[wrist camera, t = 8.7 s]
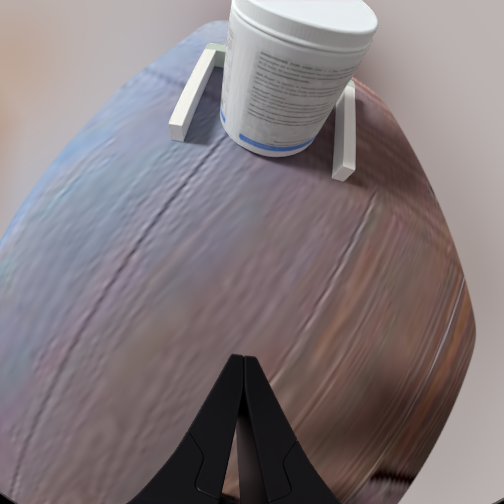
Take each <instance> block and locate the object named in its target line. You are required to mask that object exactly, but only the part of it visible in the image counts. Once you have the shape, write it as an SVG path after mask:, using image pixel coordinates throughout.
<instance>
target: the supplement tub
mask: <svg viewBox="0 0 504 504" xmlns="http://www.w3.org/2000/svg"><path fill="white" fill-rule="evenodd" d="M377 28H378V20H377V18H376V15H375V14H374V12H373V11H372V10H371V9H370V8H369V7H368V6H367V5H366V4H365V3H364V2H363V1H362V0H232V5H231V12H230V18H229V26H228V35H227V44H226V54H225V63H224V73H223V85H222V95H221V109H220V117H221V122H222V125H223V127H224V129H225V131H226V132H227V133H228V135H229V136H230V137H231V138H232V139H233V140H234V141H235V142H236V143H237V144H239V145H240V146H242V147H244V148H246V149H248V150H250V151H252V152H254V153H257V154H260V155H264V156H270V157H284V156H290V155H293V154H296V153H298V152H301V151H302V150H304V149H305V148H307V147H308V146H309V145H310V144H311V143H312V142H313V140H314V139H315V137H316V136H317V134H318V132H319V131H320V129H321V127H322V126H323V124H324V122H325V121H326V119H327V117H328V116H329V114H330V112H331V111H332V109H333V108H334V106H335V104H336V102H337V101H338V99H339V97H340V96H341V94H342V92H343V91H344V89H345V88H346V86H347V84H348V83H349V81H350V79H351V78H352V76H353V74H354V73H355V71H356V69H357V68H358V66H359V64H360V63H361V61H362V59H363V57H364V56H365V54H366V52H367V51H368V49H369V47H370V44H371V42H372V38H373V36H374V34H375V32H376V30H377Z"/></svg>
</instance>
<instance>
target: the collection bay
mask: <svg viewBox="0 0 504 504" xmlns="http://www.w3.org/2000/svg"><path fill="white" fill-rule="evenodd" d="M225 54H226V46H225V45H219V44H212V43H208V44H207V46H206V48H205V50H204V52H203V53H202V55H201V57H200V59H199V61H198V63H197V65H196V67H195V68H194V70H193V72H192V74H191V76H190V78H189V80H188V82H187V84H186V86H185V88H184V91H183V93H182V95H181V97H180V99H179V101H178V103H177V105H176V108H175V110H174V112H173V114H172V117H171V119H170V121H169V131H170V137H171V140H176V141H181V142H184V139H185V136H186V134H187V131H188V128H189V126H190V123H191V121H192V118H193V116H194V113H195V111H196V108H197V106H198V103H199V101H200V98H201V96H202V94H203V91H204V89H205V87H206V84H207V82H208V80H209V78H210V75H211V73H212V71H213V69H214V67H221V68H224V63H225ZM355 155H356V121H355V90H354V81H351V80H350V81H349V83H348V84H347V86H346V88H345V89H344V91H343V92H342V94H341V96H340V97H339V99H338V101H337V102H336V115H335V138H334V155H333V170H332V178H333V179H336V180H339V181H342V182H344V181H345V180H346V179H347V178H348V177H349V176H350V175H351V174H352V173H353V172H354V171H355Z"/></svg>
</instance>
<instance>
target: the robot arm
mask: <svg viewBox="0 0 504 504" xmlns="http://www.w3.org/2000/svg"><path fill="white" fill-rule="evenodd" d="M235 427H236V433H237V453H238V471H239V488H240V503H241V504H341V503H340V501H339V500H338V499H337V498H336V497H335V495H334V494H333V493H332V492H331V490H330V489H329V488H328V486H327V485H326V484H325V482H324V481H323V480H322V478H321V477H320V476H319V474H318V473H317V472H316V470H315V469H314V467H313V466H312V464H311V463H310V461H309V460H308V458H307V456H306V454H305V453H304V451H303V449H302V447H301V445H300V443H299V442H298V441H296V440H297V438H296V436H295V434H294V432H293V430H292V428H291V426H290V424H289V422H288V420H287V418H286V416H285V415H284V413H283V411H282V409H281V407H280V405H279V403H278V401H277V399H276V397H275V395H274V392H273V390H272V388H271V386H270V384H269V382H268V380H267V378H266V376H265V374H264V372H263V370H262V368H261V366H260V364H259V362H258V359H257V358H256V357H254V356H244V357H243V355H238V354H231V355H230V357H229V359H228V361H227V362H226V364H225V366H224V368H223V370H222V371H221V373H220V375H219V377H218V379H217V380H216V382H215V384H214V386H213V388H212V389H211V391H210V393H209V395H208V396H207V398H206V400H205V402H204V403H203V405H202V407H201V409H200V410H199V412H198V414H197V416H196V417H195V419H194V421H193V422H192V424H191V426H190V428H189V429H188V432H186V434H185V436H184V437H183V439H182V441H181V442H180V444H179V445H178V447H177V449H176V450H175V452H174V453H173V454H172V455H171V457H170V458H169V459H168V461H167V462H166V463H165V464H164V466H163V467H162V468H161V469H160V470H159V471H158V473H157V474H156V475H155V476H154V477H153V478H152V479H151V481H150V482H149V483H148V484H147V485H146V486H145V487H144V488H143V489H142V490H141V491H140V492H139V493H138V494H137V495H136V496H135V497H134V498H133V499H132V500H131V501H129V502H128V503H127V504H230V503H234V504H238V502H237V500H236V499H234V498H231V497H227V496H224V495H221V493H222V489H223V484H224V480H225V475H226V470H227V466H228V461H229V456H230V451H231V447H232V442H233V437H234V432H235ZM0 504H18V503H16V502H15V501H13V500H12V499H10V498H9V497H7V496H6V495H4V494H3V493H1V492H0ZM493 504H504V498H502V499H500V500H498V501H497V502H495V503H493Z"/></svg>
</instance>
